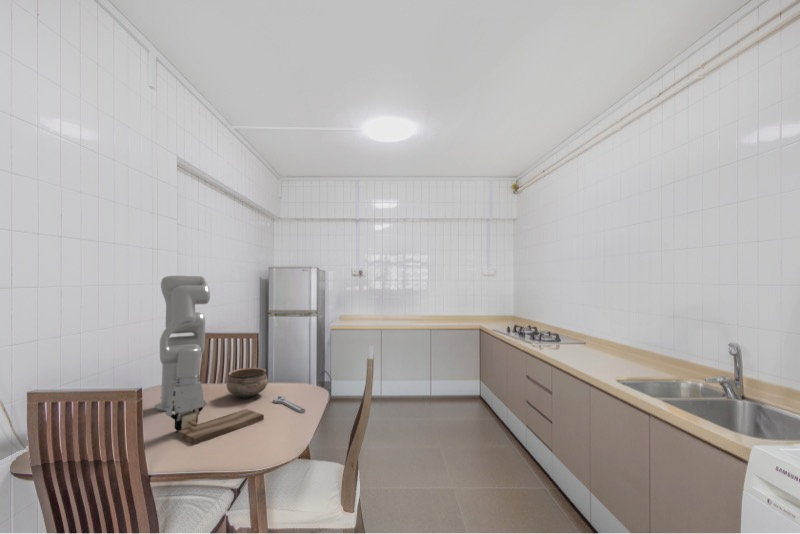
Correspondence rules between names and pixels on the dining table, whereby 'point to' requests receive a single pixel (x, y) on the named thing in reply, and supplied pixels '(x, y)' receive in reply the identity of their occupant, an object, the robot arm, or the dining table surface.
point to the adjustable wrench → (288, 404)
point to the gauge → (188, 419)
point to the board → (219, 426)
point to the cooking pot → (247, 382)
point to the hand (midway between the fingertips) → (186, 427)
